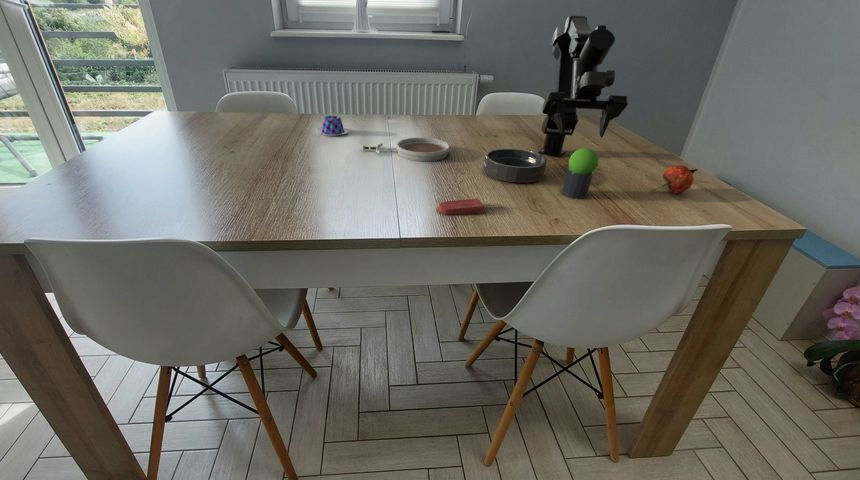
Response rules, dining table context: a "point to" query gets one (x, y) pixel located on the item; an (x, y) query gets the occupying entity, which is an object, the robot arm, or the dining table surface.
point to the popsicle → (463, 206)
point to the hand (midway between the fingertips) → (582, 135)
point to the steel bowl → (514, 165)
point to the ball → (583, 161)
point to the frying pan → (418, 149)
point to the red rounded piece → (678, 178)
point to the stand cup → (576, 184)
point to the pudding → (332, 126)
